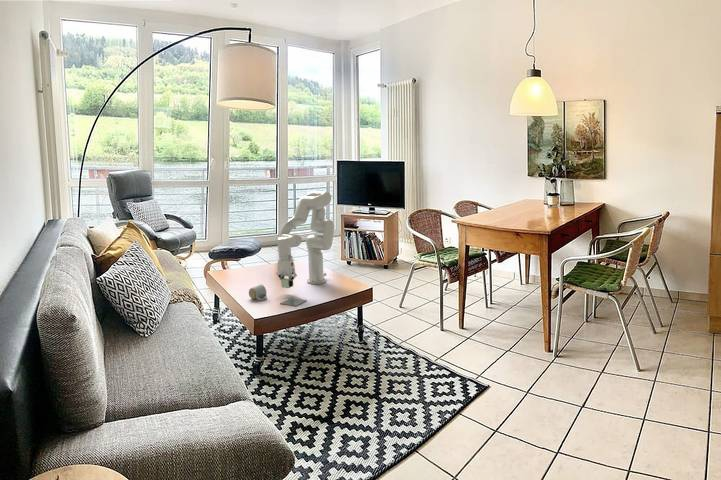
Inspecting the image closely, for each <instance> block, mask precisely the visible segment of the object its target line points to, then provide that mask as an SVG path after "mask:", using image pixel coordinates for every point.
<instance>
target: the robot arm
mask: <svg viewBox="0 0 721 480" xmlns="http://www.w3.org/2000/svg"><path fill="white" fill-rule="evenodd" d="M331 201H332V195H331V193H330V192H328V191H322V190H311V191H308V192H307V193H306V195H305V196H301V197H300V198H299V200H298V202H297V205H296V208H295V211H294V213H293V215H292V217H291V218H290V219H289V220H287V222H286V223H285V224H284V225H283V226H282V228H281V230H280V233H279V236H278V238H277V239H276V243H277V253H278V254H277V255H278V260H277V271H276V273H275V274H276V276H277V277H278V278H279V279H280V281H281V279H283V278H285V277H289V280H290V281H289V287H290V288H292V287H294V279H295V278H296V277H298V275H297V273H296V267H295V262H294V259H293V255H292V249H291V248H297V247H299V246H300V245H301V244H302V240H303V239H302V237H301V235H299V234H294V233H291V231H292V230H294V229H295V228H297V227H299V226H301V225H303V224H305V223H307V220H308V217H309V214H310V211H311V220H310V231H311V232H313V233H318V234H310V235H307V237H306V239H305V245H306V249H307V254H308V255H307V257H308V278H307V279H306V283H307V284H310V285H320V284H324V283H326V282H327V279H326V278H325V277H326V276H327V273H326V272H324V256H323V252H322V251H329V250H331V248H332V246H333V240H334V233H335V223H334V222H333V220H331V219H329V218H325V217H326V209H325V207H326V206H328V205H329V204H330V203H331Z"/></svg>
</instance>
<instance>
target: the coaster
mask: <svg viewBox="0 0 721 480" xmlns="http://www.w3.org/2000/svg"><path fill="white" fill-rule="evenodd" d="M306 302H308V301H307V299H301V298H297V297H296V298H295V297H290V298H288V299H285V300H284V301H282V302H280V303H279V304H280V305H285V306H289V307H290V306H291V307H298V306H300V305H302V304H304V303H306Z"/></svg>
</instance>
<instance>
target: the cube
mask: <svg viewBox="0 0 721 480" xmlns="http://www.w3.org/2000/svg"><path fill="white" fill-rule="evenodd" d="M289 281H290V280H289V277H288V276H284V278H283V279H281V280H280V283H281V284H280V285H281V288H283V289H291V287H289Z"/></svg>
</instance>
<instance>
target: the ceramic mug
mask: <svg viewBox="0 0 721 480" xmlns="http://www.w3.org/2000/svg"><path fill="white" fill-rule="evenodd" d="M248 296H249V297H250V299H251V300H252V301H253V300H258V301H260V302H265V301H266V300H267V289H266V287H265V285H264V284H258V285H256V286H253V287H251V288H249V290H248Z"/></svg>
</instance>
